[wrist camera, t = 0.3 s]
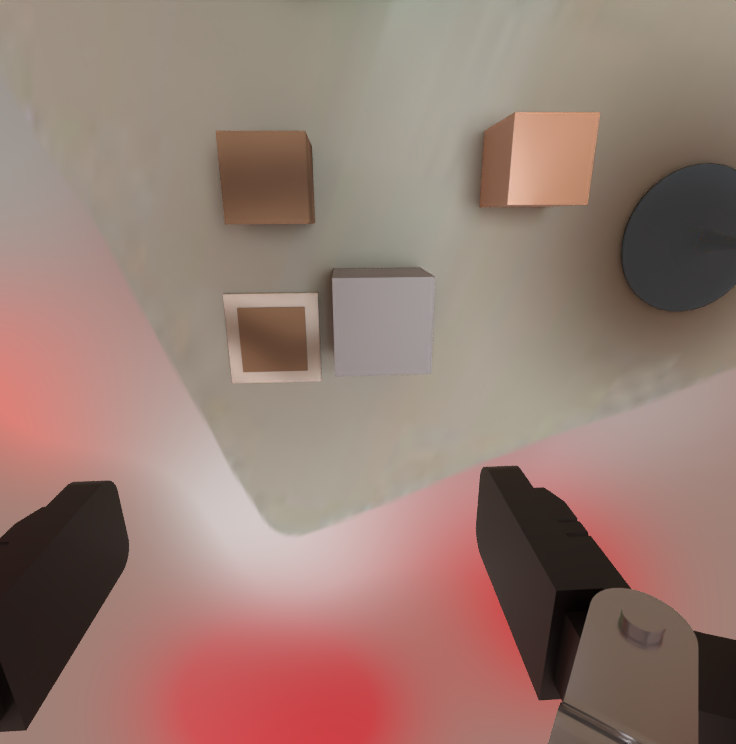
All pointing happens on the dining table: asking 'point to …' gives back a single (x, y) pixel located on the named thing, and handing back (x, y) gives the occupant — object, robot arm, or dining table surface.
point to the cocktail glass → (683, 239)
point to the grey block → (382, 321)
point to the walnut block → (266, 177)
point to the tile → (273, 337)
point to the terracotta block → (539, 159)
